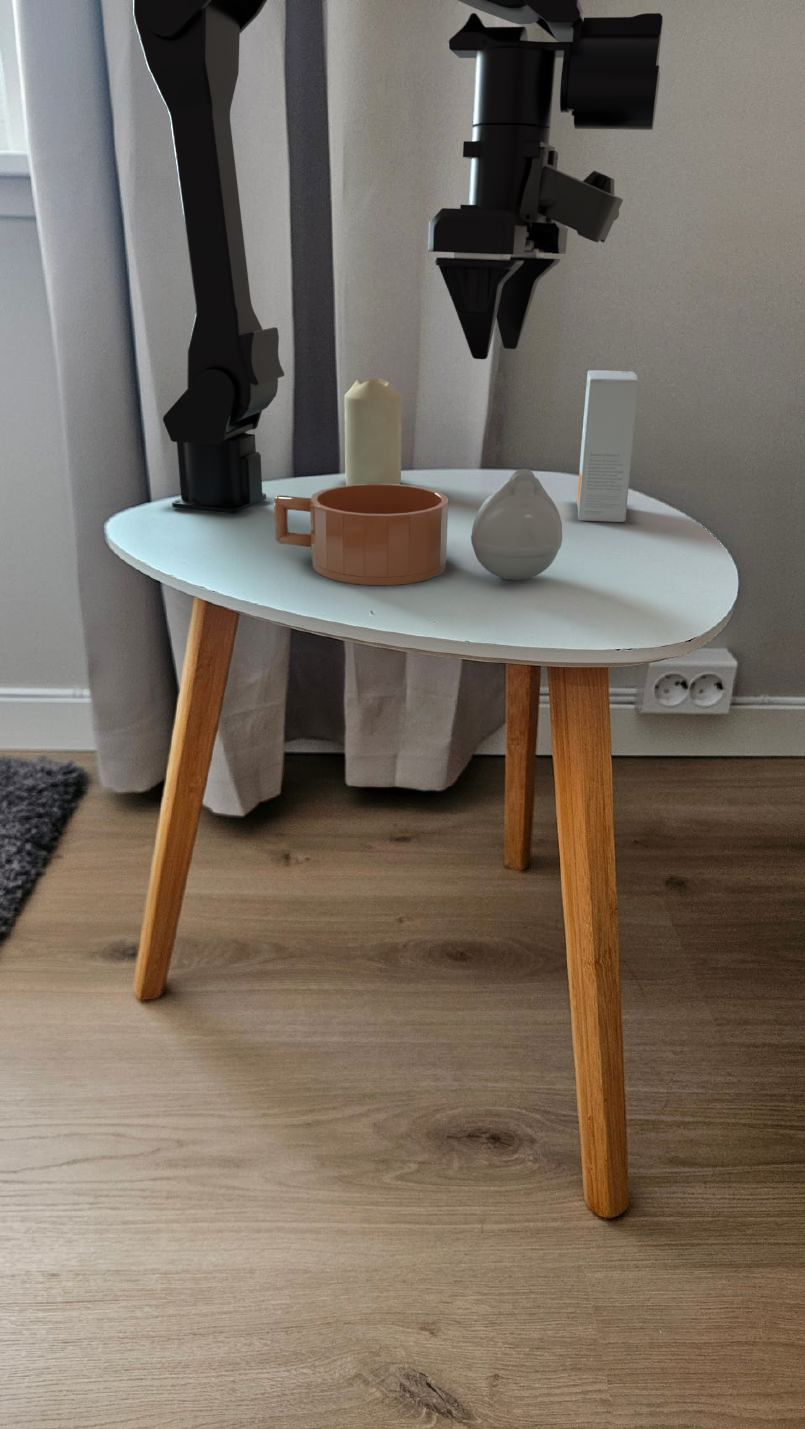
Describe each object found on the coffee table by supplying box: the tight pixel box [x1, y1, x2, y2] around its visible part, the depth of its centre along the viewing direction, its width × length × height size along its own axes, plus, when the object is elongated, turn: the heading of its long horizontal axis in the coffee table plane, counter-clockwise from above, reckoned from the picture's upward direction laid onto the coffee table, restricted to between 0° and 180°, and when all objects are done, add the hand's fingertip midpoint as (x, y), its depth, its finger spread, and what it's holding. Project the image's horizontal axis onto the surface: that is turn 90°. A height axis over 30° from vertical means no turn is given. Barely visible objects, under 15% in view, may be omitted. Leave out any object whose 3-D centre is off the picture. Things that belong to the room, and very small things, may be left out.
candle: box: [344, 378, 403, 485], centre depth 97 cm, size 6×6×10 cm
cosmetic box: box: [576, 369, 640, 523], centre depth 87 cm, size 6×4×12 cm
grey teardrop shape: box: [470, 468, 563, 581], centre depth 71 cm, size 7×7×8 cm
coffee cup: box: [273, 483, 449, 586], centre depth 74 cm, size 14×10×5 cm
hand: (495, 353), depth 80 cm, fingers open, 9 cm apart
